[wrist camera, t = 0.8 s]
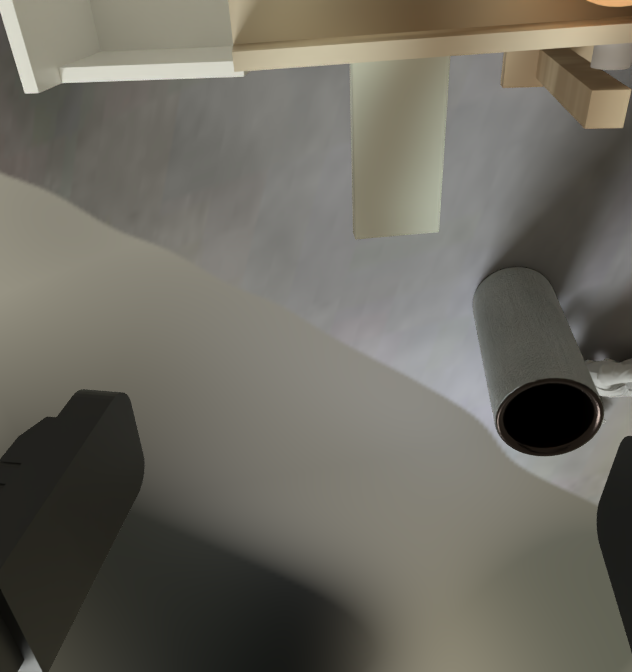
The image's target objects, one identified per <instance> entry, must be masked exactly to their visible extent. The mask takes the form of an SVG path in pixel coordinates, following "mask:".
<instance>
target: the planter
mask: <svg viewBox="0 0 632 672" xmlns="http://www.w3.org/2000/svg"><path fill="white" fill-rule="evenodd" d="M473 314H474V319H475V325H476V330H477V335H478V340H479V345H480V350H481V355H482V361H483V366H484V371H485V376H486V381H487V386H488V391H489V396H490V402H491V407H492V412H493V417H494V422H495V426H496V430H497V432H498V434H499V436H500V437H501V439H502V440H503V441H504V442H505V443H506V444H507V445H509V446H510V447H512V448H513V449H515V450H517V451H519V452H522V453H525V454H529V455H534V456H555V455H560V454H564V453H568V452H570V451H573V450H575V449H577V448H579V447H581V446H583V445H584V444H586V443H587V442H588V441H589V440H590V439H592V438H593V437H594V435H595V434H596V433H597V432H598V430H599V428H600V427H601V424H602V422H603V418H604V407H603V403H602V400H601V398H600V395H599V393H598V391H597V388H596V386H595V384H594V382H593V379H592V377H591V375H590V372H589V370H588V368H587V365H586V363H585V361H584V359H583V356H582V354H581V352H580V349H579V347H578V345H577V343H576V340H575V338H574V336H573V333H572V331H571V329H570V326H569V324H568V322H567V320H566V317H565V315H564V313H563V310H562V308H561V306H560V303H559V301H558V299H557V297H556V294H555V292H554V290H553V288H552V286H551V284H550V283H549V281H548V280H547V279H546V278H545V277H544V276H543V275H542V274H540V273H539V272H537V271H535V270H532V269H529V268H524V267H511V268H506V269H502V270H500V271H497V272H495V273H493V274H491V275H490V276H488V277H487V278H486V279H485V280H484V281H483V282H482V283H481V284H480V285H479V287H478V288H477V290H476V292H475V294H474V298H473Z"/></svg>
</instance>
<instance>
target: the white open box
mask: <svg viewBox="0 0 632 672" xmlns="http://www.w3.org/2000/svg"><path fill="white" fill-rule="evenodd" d="M0 12H1V16H2V19H3V22H4V26H5V29H6V32H7V36H8V39H9V42H10V46H11V49H12V52H13V55H14V59H15V62H16V65H17V69H18V72H19V75H20V79H21V82H22V85H23V89H24V92H25V93H40V92H42V91H45V90H47V89H49V88H52V87H54V86H56V85H59V84H61V83H76V82H104V81H132V80H161V79H189V78H217V77H244V76H245V75H246V74H248V73H249V72H250V71H240V72H234V65H233V57H232V49H233V38H232V30H231V21H230V13H229V4H228V0H0Z"/></svg>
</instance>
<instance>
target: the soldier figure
mask: <svg viewBox="0 0 632 672" xmlns="http://www.w3.org/2000/svg"><path fill="white" fill-rule="evenodd" d="M585 363H586V365H587V368H588V370H589V372H590V375H591V377H592V379H593V382H594V384H595V386H596V388H597V391H598V393H599V395H600V396H608V397H609V398H614V397H623V396H626V397H627V396H632V359H627V360H625V361H622V362H617V361H614V360H611V359H608V358H606V359H604V360H603V361H593V360H586V361H585ZM603 421H604V422H602V424H603V423H605V422H607V421H606V420H604V419H603Z"/></svg>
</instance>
